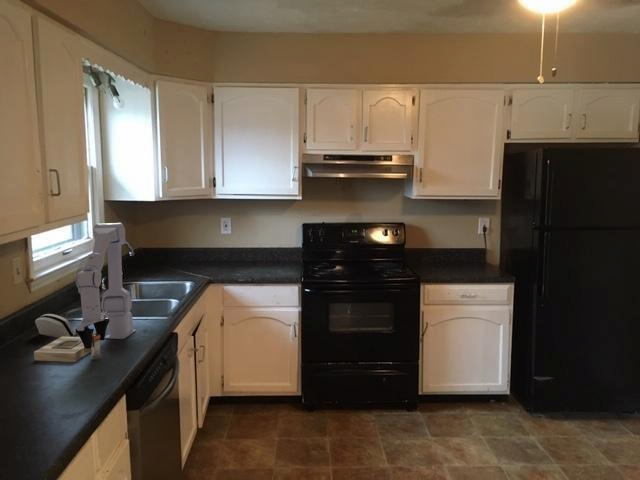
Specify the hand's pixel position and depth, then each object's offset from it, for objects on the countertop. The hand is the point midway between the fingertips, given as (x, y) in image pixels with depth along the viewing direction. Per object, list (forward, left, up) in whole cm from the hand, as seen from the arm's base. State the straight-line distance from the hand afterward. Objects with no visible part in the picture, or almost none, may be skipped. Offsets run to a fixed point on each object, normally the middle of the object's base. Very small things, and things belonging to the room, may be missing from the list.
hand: (94, 344), depth 169 cm
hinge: (-20, -29, -6) cm, 36 cm away
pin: (0, 0, -5) cm, 5 cm away
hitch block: (-4, -13, -5) cm, 15 cm away
